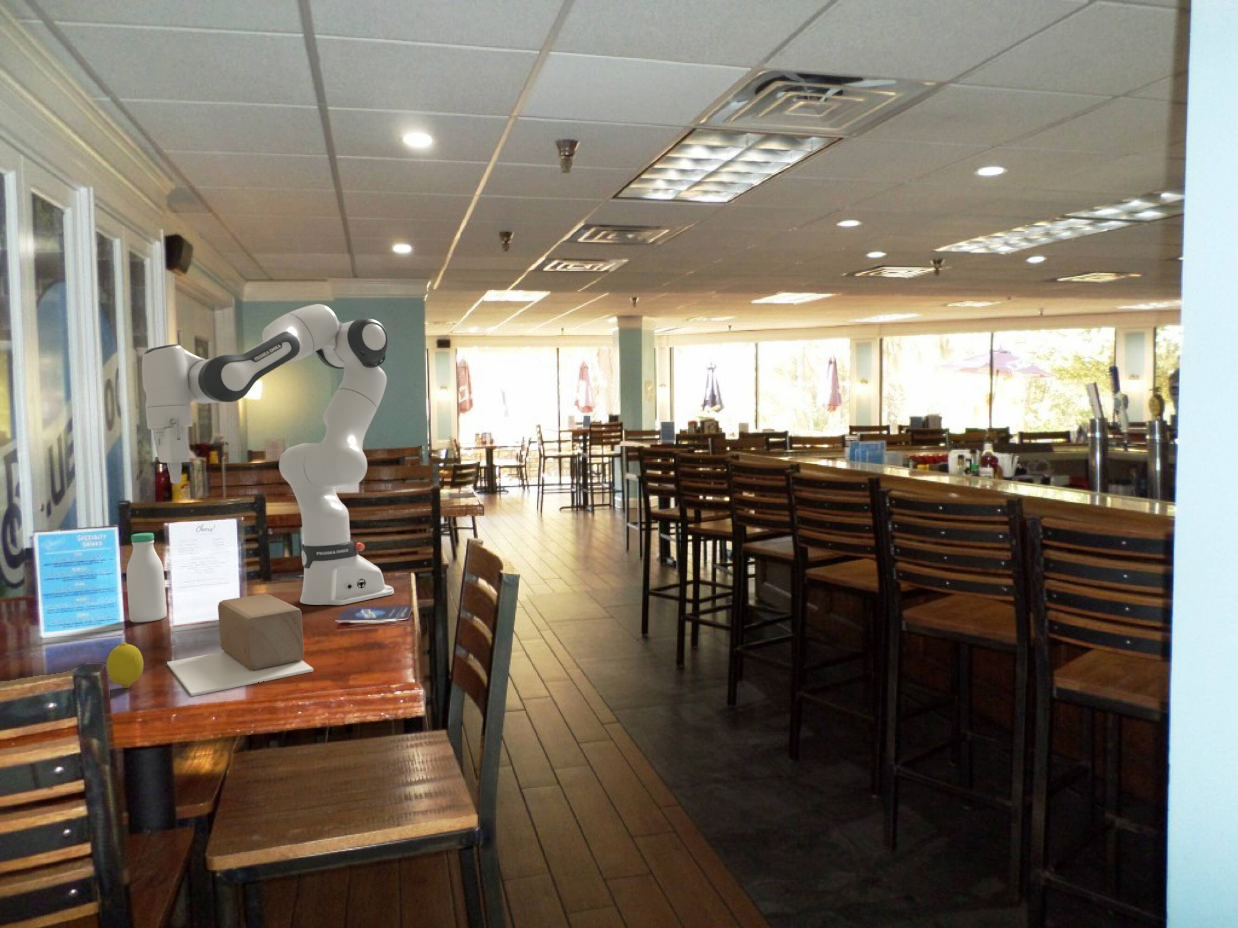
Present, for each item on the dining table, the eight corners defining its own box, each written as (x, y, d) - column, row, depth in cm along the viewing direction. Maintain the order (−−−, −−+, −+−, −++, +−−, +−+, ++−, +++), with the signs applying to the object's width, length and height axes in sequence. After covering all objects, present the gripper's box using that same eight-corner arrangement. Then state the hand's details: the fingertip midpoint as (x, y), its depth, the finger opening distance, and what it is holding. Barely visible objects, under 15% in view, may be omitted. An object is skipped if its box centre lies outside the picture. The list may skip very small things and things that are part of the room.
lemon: (151, 682, 153) (148, 637, 153) (132, 692, 148) (129, 646, 147) (121, 683, 154) (117, 638, 153) (101, 693, 148) (97, 647, 148)
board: (277, 644, 176) (277, 641, 176) (313, 671, 157) (313, 668, 157) (167, 664, 164) (167, 661, 164) (191, 696, 145) (191, 693, 145)
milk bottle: (168, 619, 201) (162, 533, 200) (130, 625, 197) (124, 537, 196) (165, 613, 208) (159, 530, 206) (128, 618, 204) (122, 533, 202)
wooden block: (219, 650, 171) (250, 672, 155) (216, 600, 170) (246, 617, 155) (271, 640, 177) (306, 660, 162) (268, 591, 177) (303, 607, 161)
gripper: (193, 417, 182) (200, 483, 183) (178, 420, 199) (185, 480, 200) (159, 419, 178) (166, 486, 179) (147, 422, 195) (154, 483, 196)
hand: (176, 483), depth 190 cm, fingers closed
